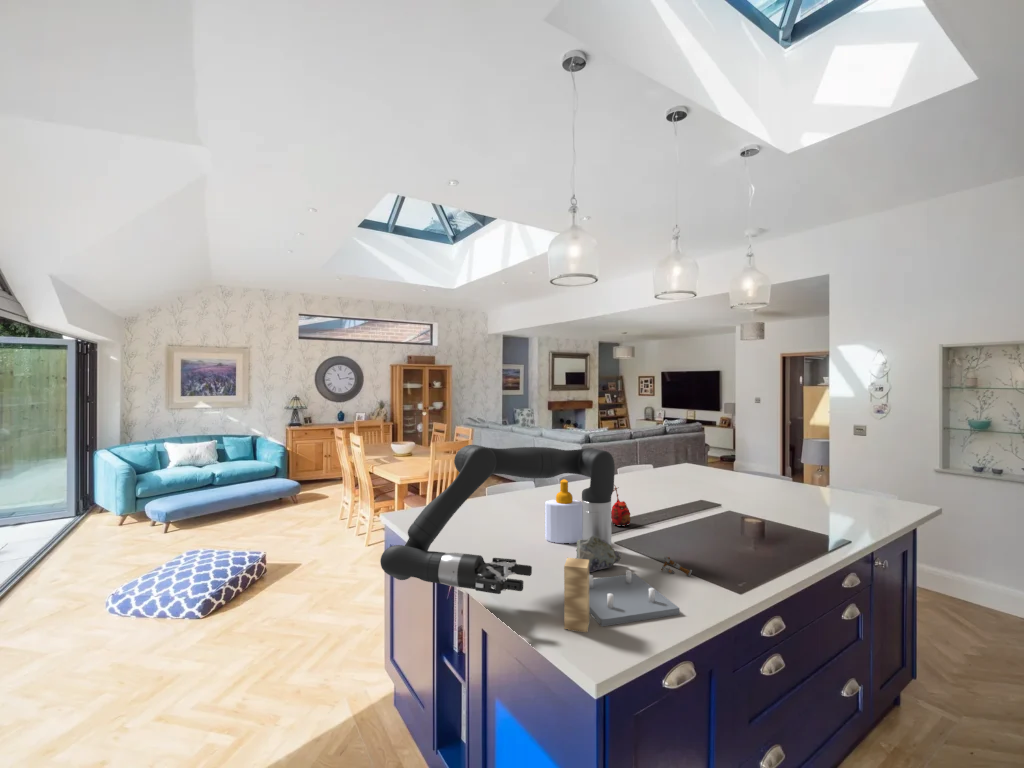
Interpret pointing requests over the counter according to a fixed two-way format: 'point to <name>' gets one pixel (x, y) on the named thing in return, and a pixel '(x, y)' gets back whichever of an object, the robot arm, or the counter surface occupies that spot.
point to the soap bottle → (563, 517)
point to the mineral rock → (597, 553)
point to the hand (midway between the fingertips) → (527, 578)
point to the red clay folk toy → (620, 512)
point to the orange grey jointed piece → (675, 566)
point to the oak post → (576, 594)
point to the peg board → (626, 600)
